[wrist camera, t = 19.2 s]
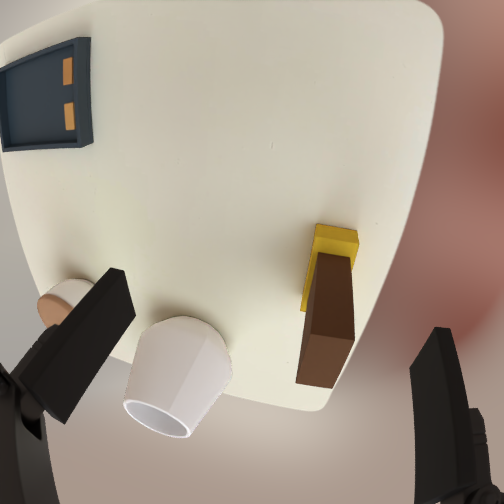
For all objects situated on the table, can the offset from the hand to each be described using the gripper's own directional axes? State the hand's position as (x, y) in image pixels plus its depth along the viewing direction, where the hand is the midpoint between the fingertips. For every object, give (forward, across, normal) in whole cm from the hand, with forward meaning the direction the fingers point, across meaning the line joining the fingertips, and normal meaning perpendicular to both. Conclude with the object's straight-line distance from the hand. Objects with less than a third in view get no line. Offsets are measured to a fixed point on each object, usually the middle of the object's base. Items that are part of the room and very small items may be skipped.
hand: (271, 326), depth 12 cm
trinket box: (+17, -30, -21) cm, 41 cm away
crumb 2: (+17, -24, +6) cm, 30 cm away
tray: (+17, -31, +8) cm, 37 cm away
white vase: (+18, -12, -25) cm, 33 cm away
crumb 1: (+17, -24, +11) cm, 32 cm away
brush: (+18, +3, -9) cm, 20 cm away
